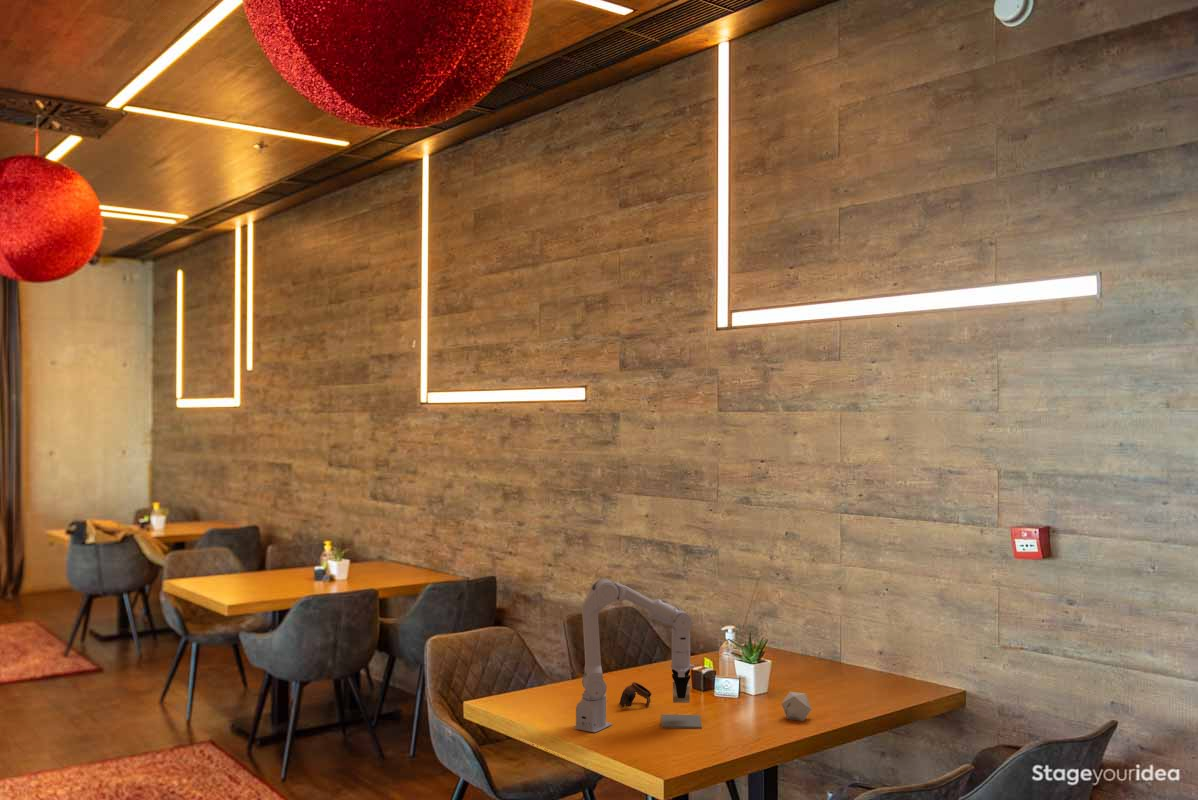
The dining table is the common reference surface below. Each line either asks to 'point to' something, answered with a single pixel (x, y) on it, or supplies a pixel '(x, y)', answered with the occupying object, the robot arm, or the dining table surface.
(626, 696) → the dark brown looped arch
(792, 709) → the die
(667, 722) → the slate mat
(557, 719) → the dining table surface
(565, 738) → the dining table surface
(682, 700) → the cream block
